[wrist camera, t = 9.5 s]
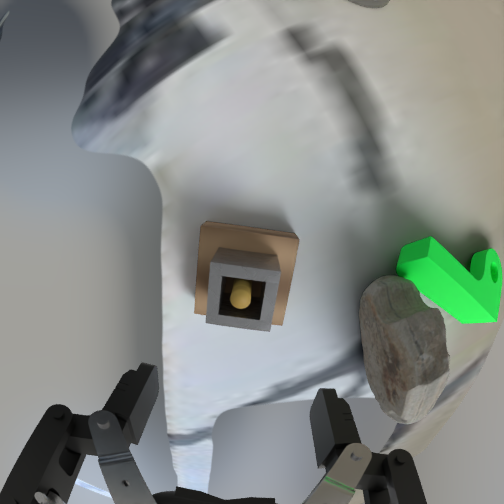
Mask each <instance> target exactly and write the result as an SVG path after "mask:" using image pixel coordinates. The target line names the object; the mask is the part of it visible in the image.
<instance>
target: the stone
mask: <svg viewBox="0 0 504 504" xmlns="http://www.w3.org/2000/svg"><path fill="white" fill-rule="evenodd" d="M359 320H360V329H361V340H362V347H363V353H364V365H365V370H366V375H367V379H368V382H369V385H370V388H371V390H372V392H373V393H374V395H375V399H376V400H377V401H378V402H379V404H380V406H381V409H382V410H383V412H384V413H385V414H387V415H388V416H389V417H390V418H392V419H393V420H394V421H396V422H398V423H404V424H411V423H414V422H417V421H419V420H420V419H422V418H424V417H425V416H426V415H427V414H428V413H429V411H430V410H431V409H432V408H433V406H434V405H435V403H436V401H437V399H438V397H439V396H440V394H441V393H442V391H443V389H444V387H445V385H446V383H447V380H448V377H449V361H450V355H449V354H448V352H447V347H446V328H445V324H444V318H443V317H442V315H441V312H440V311H439V309H438V308H430V307H428V306H427V305H426V304H425V303H424V302H423V301H422V298H421V297H420V293H419V290H418V289H417V287H416V286H415V284H414V283H413V282H412V281H411V280H408V279H405V278H403V277H399V276H394V275H386V276H382V277H380V278H378V279H376V280H375V281H373V282H372V283H371V284H370V285H369V286H368V287H367V288H366V290H365V291H364V292H363V295H362V297H361V299H360V309H359Z"/></svg>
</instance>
